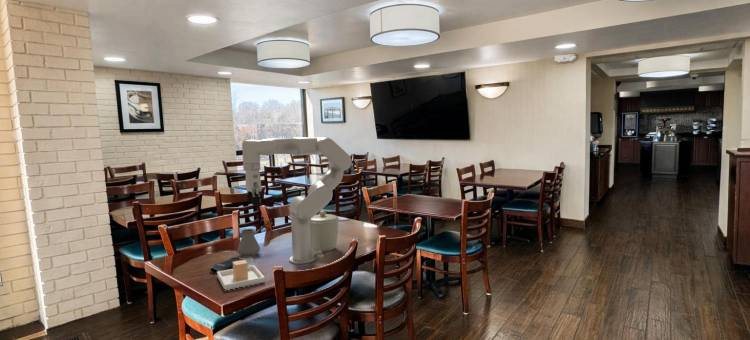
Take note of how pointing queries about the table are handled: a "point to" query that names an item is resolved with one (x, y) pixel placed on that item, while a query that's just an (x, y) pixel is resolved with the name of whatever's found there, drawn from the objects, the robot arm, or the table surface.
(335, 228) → the canister
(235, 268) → the block
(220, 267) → the electronic device
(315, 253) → the robot arm
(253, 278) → the tray
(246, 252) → the coffee pot
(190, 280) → the table surface
